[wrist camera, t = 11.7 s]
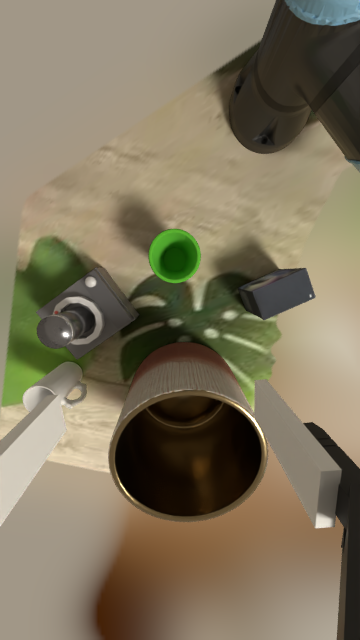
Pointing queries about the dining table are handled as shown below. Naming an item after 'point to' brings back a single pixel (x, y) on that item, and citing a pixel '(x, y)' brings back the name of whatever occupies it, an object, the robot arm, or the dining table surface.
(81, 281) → the camera body
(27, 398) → the mug
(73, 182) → the dining table surface
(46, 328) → the lens
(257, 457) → the planter
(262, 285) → the small box
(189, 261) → the cup
